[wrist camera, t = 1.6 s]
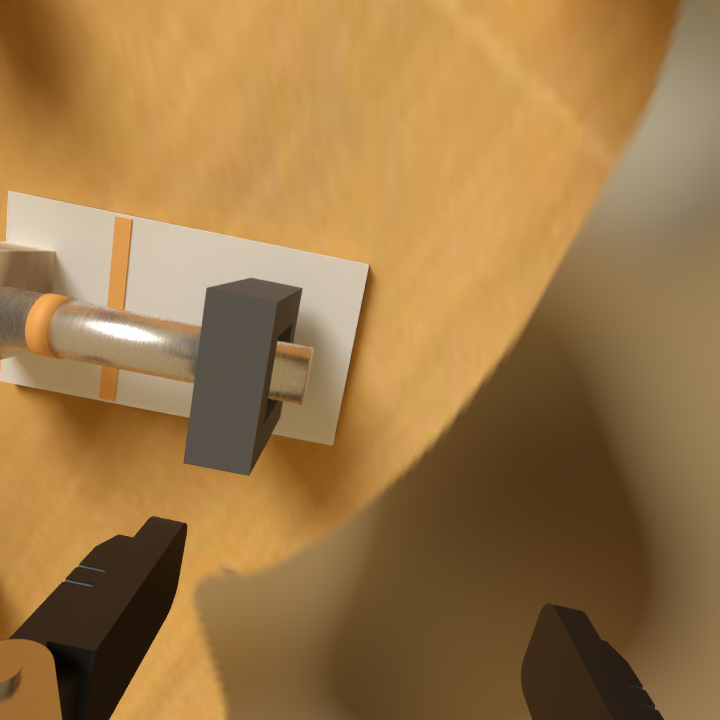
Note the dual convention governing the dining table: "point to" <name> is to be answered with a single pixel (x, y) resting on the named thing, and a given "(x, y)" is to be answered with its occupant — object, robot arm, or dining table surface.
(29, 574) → the dining table surface
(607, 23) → the dining table surface
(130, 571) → the robot arm
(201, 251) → the pipe rig
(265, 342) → the collar
